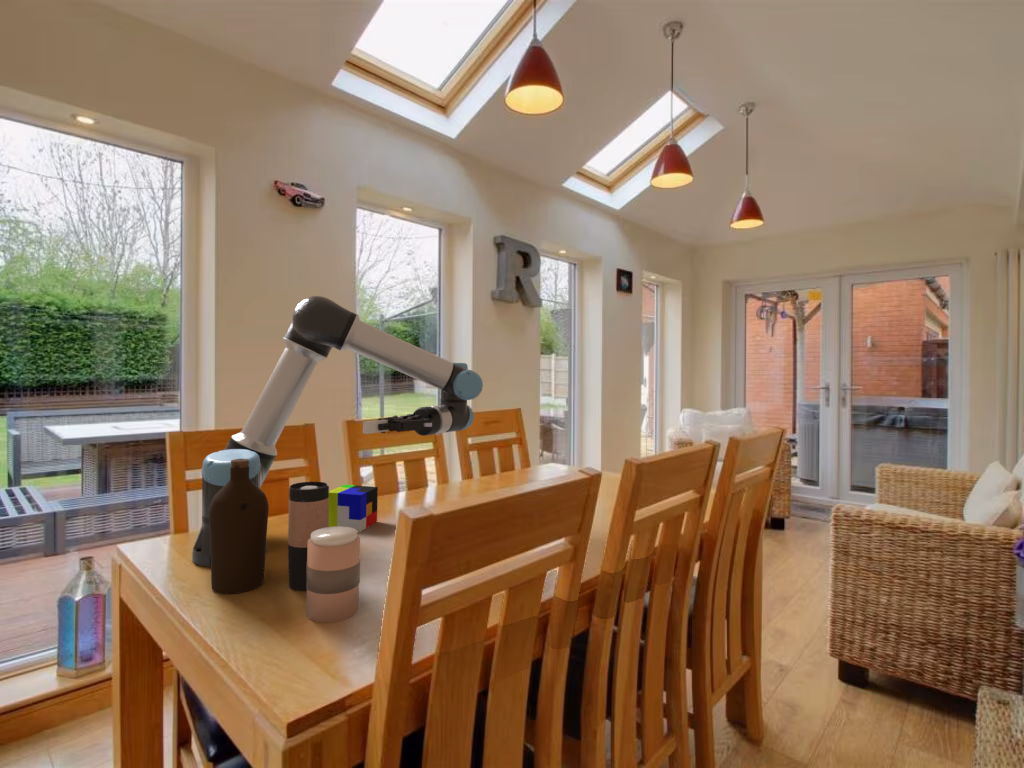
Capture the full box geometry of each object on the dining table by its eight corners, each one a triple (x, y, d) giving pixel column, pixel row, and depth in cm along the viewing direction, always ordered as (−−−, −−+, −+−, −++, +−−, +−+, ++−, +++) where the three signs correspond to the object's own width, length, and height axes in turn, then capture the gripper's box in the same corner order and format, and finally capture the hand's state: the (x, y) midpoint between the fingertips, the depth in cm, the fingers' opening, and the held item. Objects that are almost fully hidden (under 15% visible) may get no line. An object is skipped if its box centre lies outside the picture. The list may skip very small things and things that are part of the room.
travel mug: (278, 588, 107) (280, 487, 106) (304, 574, 114) (305, 480, 114) (311, 593, 105) (313, 491, 104) (335, 579, 112) (337, 483, 111)
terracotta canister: (298, 622, 93) (300, 541, 93) (314, 599, 102) (315, 525, 102) (353, 622, 94) (354, 541, 93) (363, 599, 103) (365, 525, 103)
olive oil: (279, 580, 111) (281, 458, 110) (233, 600, 101) (235, 467, 100) (242, 570, 115) (244, 453, 114) (195, 588, 105) (196, 461, 105)
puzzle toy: (360, 532, 143) (360, 495, 143) (325, 529, 145) (326, 492, 145) (376, 522, 153) (377, 487, 153) (344, 519, 155) (345, 484, 155)
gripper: (450, 436, 141) (385, 446, 121) (412, 432, 148) (345, 441, 128) (451, 408, 141) (386, 413, 121) (412, 404, 148) (345, 409, 128)
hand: (365, 427), depth 124 cm, fingers closed
